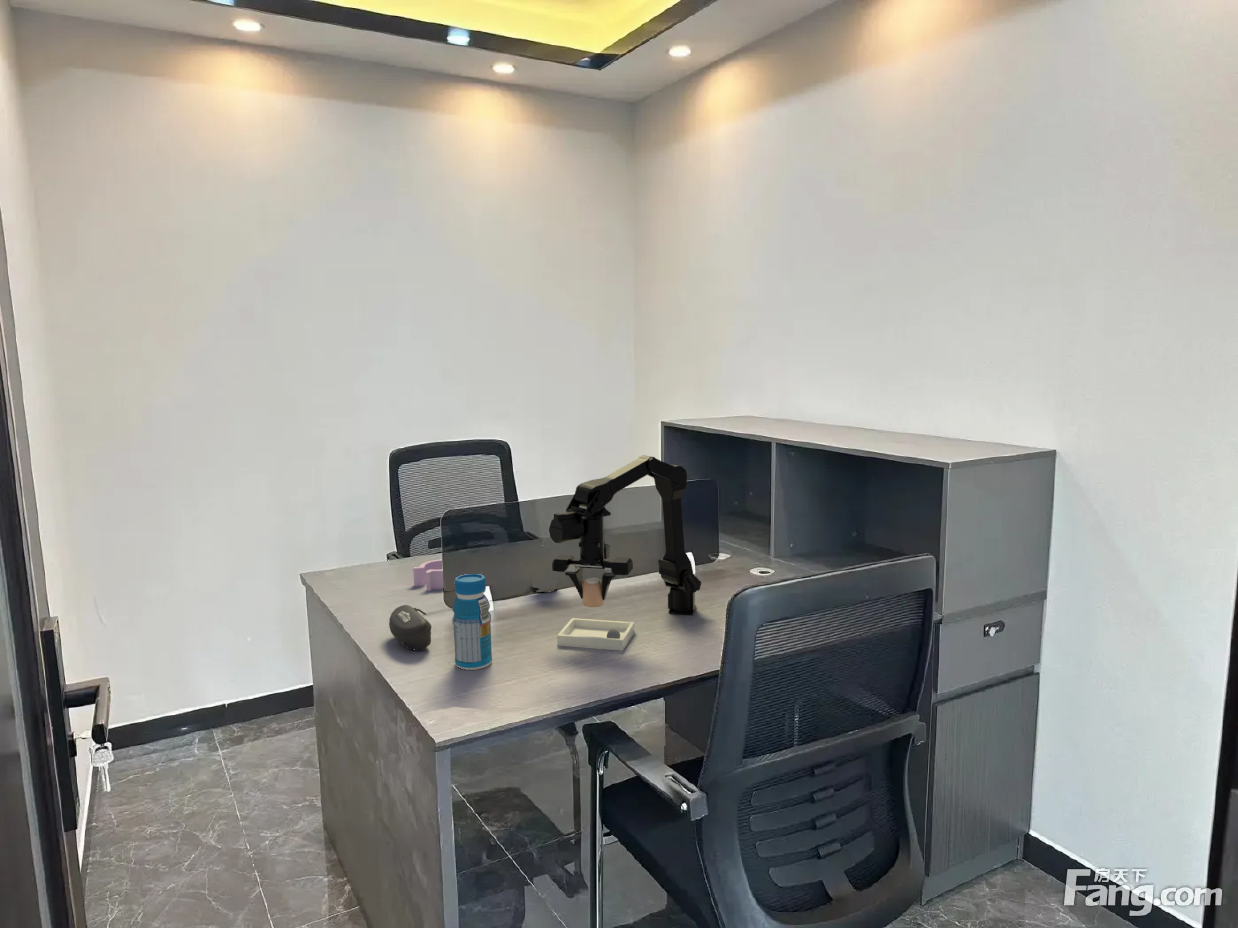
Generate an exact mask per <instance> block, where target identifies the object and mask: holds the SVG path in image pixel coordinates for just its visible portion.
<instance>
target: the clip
mask: <svg viewBox="0 0 1238 928" xmlns="http://www.w3.org/2000/svg"><path fill="white" fill-rule="evenodd" d="M412 571H413V573H412V574H413V587H424V586H425V587H426V591H427V592H431V591H432V590H444V589H443V569H442V558H441V559H433V560H429V561H426V562H423V563H421V564H420V565H419V566H414V567H412Z"/></svg>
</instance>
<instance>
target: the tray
mask: <svg viewBox="0 0 1238 928" xmlns="http://www.w3.org/2000/svg"><path fill="white" fill-rule="evenodd" d="M611 629H616V630H618V631H619V633H620V639H615V638H607V633H608V631H609V630H611ZM634 634H635V622H632V621H619V620H618V621H617V620H605V619H604V620H603V619H589V618H577V617H571V618H570V620H569V621H568V622H567V623H566V625H564V627H563V628H562V629H561V630H560V631H559V632H558V634H557V635H556V641H557V642H556V644H557V646H558V647H559V646H560V647H571V648H583V649H584V648H586V649H595V650H596V649H598V650H607V651H608V650H609V651H624V650H625V648H627V647H626V646H627V645H628V644H629V642H630V640H631V639H632V636H633V635H634Z"/></svg>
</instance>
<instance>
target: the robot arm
mask: <svg viewBox="0 0 1238 928" xmlns="http://www.w3.org/2000/svg"><path fill="white" fill-rule="evenodd" d="M646 476H649V477H651V478H653V480H654V485H655V489H656V491H657V493H658V494H659V496H660V497H661V500H662V514H663V515H662V516H663V517H662V518H663V527H664V529H663V530H664V542H665V545H664V546H665V553H664V555H663V556H662V558H659V559H658V561H657V562H658V574H660V577H661V579H662V580H663V582H664V586H665V587H668V588H669V592H668V593H667V609H668V614H673V615H674V614H676V615H691V616H692V615H694V613H695V611H696V610H697V605H696V592H698V591H700V590H701V586H702V581H701V580H700V579H699V578H698V577H697V576H696V575H695V574H694V571H693V565H692V561H691V560H690V558H689V556H688V555H687V552H686V547H685V534H684V517H683V505H682V503H683V502H682V498H683V496H684V493H685V492H686V490H687V486H688V485H687V484H688V472H687V470H686V469H685V468H684V467H683V466H682V465H677V464H672V463H667V462H665V461H661V460H660V459H658V458H656V457H655V456H651V455H650V456H649V455H639V456H638V457H637V458H636V459H635V460H633V461H631V462H629V463H628V464H626V465H624V466H622V467H621V468H618V469H616V470H614V472H611V473H610V474H608V475H607V476H604V477H601V478H596V479H594V478H593V479H590V480H587V481H584V482H581V483H580V484H578V485H577V486H576V487H575V490H574V491H575V492H574V494H573V497H572V498H571V500H570V502H569V503H568V505H567V507H566V509H565V512H557V513H556V512H555V513H554V514H553V519H551V520H550V521H551V523H550V526H549V533H550V537H551V539H552V540H553V541H554V542H555V543H558V544H561V543H565V542H570V541H571V542H572V541H576V540H579V542H578V547H579V554H580V555H579V556H580V557H579V559H577V558H576V559H575V557H574V555H573V554H560V553H559V554H558V557H557V558H555V559H554V560H553V562H552V571H556V572H558V573H561V572H562V573H564V574H565V576H568V577H569V578H570V580H571V581H572V583H573V585H574V587H575V589H576V590H577V593H578V595H579V597H580V600H581V599H582V600H583V585H582V582H583V581H584V578H583V577H584V576H583V572H584V569H596V570H597V569H600V570H604V573H602V575H601V580H602V599H603V600H604V601H605V600H606V598H607V594H608V591H609V588H610V585H611V582H612V580H613V579H614V578H616V576H628V575H629V574H630V573H631V572H632V571H633V568H634V565H633V564H634V562H633V560H632V558H631V557H623V556H622V557H620V556H616V557H615V558H614V559H613V560H612V561H611V560H607V559H609V558H610V548H611V545H610V544H608V543H606V538H605V536H604V534H605V533H604V530H605V529H604V517H609V516H611V515H612V513H611V512H610V511H609V510H608V509H607V508H606V505H608V504H609V503H610V502H611V501H612V500H613V498H614V496H615V495H616V494H617V493H618V492H620V491H622V490H623V489H625V488H627V487H629V486H631V485H632V484H634V483H635V482H637V481H639V480H641V479H643V478H644V477H646Z"/></svg>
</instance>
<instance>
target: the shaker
mask: <svg viewBox="0 0 1238 928" xmlns="http://www.w3.org/2000/svg"><path fill="white" fill-rule="evenodd" d="M582 585H583V599H582V605H583V606H584V607H585V608H586V607H587V608H598V607H602V606H604V603H605V602H604V601H605V600H603V599H602V579H600V578H598V577H589V578H586V579H585V580H583V582H582Z"/></svg>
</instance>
